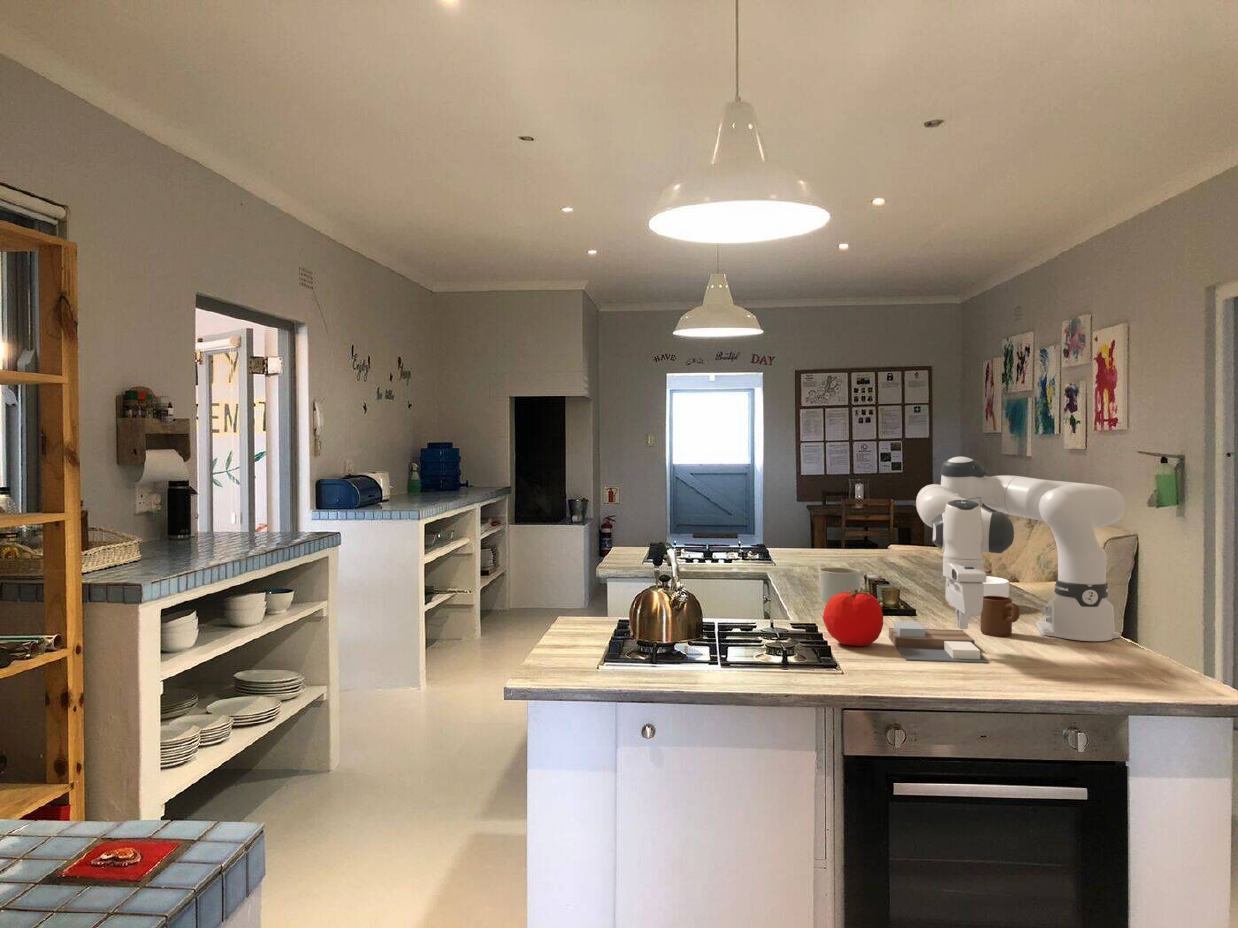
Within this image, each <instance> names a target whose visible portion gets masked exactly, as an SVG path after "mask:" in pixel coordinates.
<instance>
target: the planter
mask: <svg viewBox="0 0 1238 928" xmlns="http://www.w3.org/2000/svg"><path fill="white" fill-rule="evenodd" d="M861 572H862V571H861V570H860V569H857V568H852V567H843V566H842V567H841V566H840V567H838V566H835V567H822V568H819V570H818V577H819V578H818V580H819V590H820V591H819V592H820V598H821V600H822V602H824V603H825V605H826V604H827V603H828V601H829V600H830V598H832V597H833V596H834V595H837V594H840V593H843V592H846V591H850V592H851V591H854V590H855V589H857V590H858V592H859V591H861V590H860V588H861V576H862V575H861V574H862V573H861Z"/></svg>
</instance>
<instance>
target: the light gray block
mask: <svg viewBox="0 0 1238 928" xmlns="http://www.w3.org/2000/svg"><path fill="white" fill-rule="evenodd" d="M893 628H894V630H895V631H896V632H897V634H898V635H899V636H900V637H925V629H926V628H925V627H924V626H923V625H922V624H921V623H920V622H919V621H908V620H907V621H905V620H904V621H899V620H894V621H893Z"/></svg>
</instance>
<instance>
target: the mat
mask: <svg viewBox="0 0 1238 928" xmlns="http://www.w3.org/2000/svg"><path fill="white" fill-rule="evenodd" d="M896 649H897V650H898V652H899V653H900V655H901V656H902V657H903V658H904V660H905V661H910V662H911V661H912V662H913V661H914V662H919V661H920V662H939V663H940V662H944V663H946V662H947V663H970V664H971V663H976V664H988V663H989V661H988V660H987V659H986V658H984V657H983V655H981V654H980V659H958V658H952V657H951V656H950V655H949V654H948V653H947V652H946V651H945V650H944V649H938V648H907V647H897V648H896Z"/></svg>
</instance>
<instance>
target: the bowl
mask: <svg viewBox="0 0 1238 928" xmlns="http://www.w3.org/2000/svg"><path fill="white" fill-rule="evenodd" d="M982 583H983V585H984V595H983V596H1002V597H1008V598H1010V581H1009V580H1008V579H1006V578H1002V577H997V576H989V575H988V576H987V575H986V582H982ZM947 603H948V602H947ZM948 606H950V607H952V608H955V607H954V606H952V605H951V604H950V603H948Z"/></svg>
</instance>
